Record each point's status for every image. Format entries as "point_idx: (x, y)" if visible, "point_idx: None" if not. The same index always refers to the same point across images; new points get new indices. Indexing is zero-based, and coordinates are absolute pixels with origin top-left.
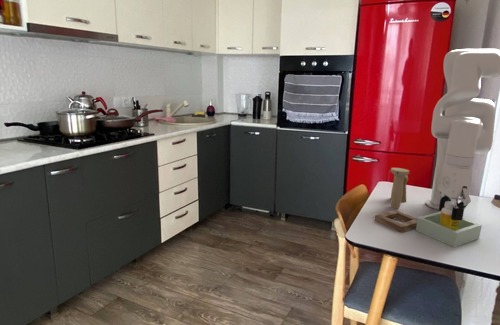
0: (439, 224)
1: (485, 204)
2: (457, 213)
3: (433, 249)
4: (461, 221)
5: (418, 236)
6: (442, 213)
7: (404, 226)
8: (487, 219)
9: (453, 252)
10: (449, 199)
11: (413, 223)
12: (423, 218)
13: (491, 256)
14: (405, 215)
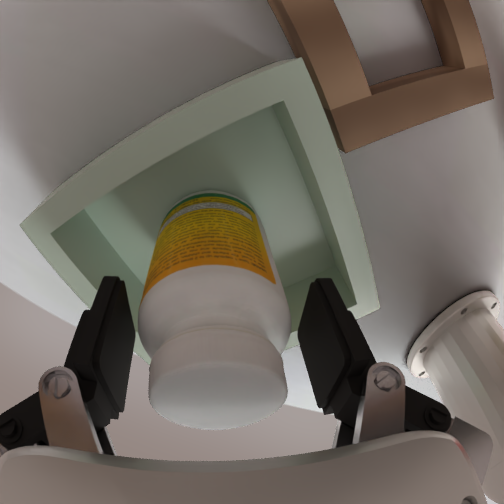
0: (232, 206)
1: None
2: (73, 341)
3: (26, 67)
4: None
5: (181, 34)
6: (210, 259)
7: None
8: None
9: (10, 156)
10: (330, 408)
11: (308, 49)
12: (278, 98)
13: (25, 289)
14: (433, 89)
